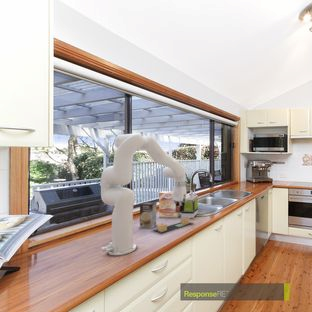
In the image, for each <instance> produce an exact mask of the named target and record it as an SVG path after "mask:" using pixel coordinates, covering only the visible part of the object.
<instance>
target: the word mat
mask: <svg viewBox="0 0 312 312" xmlns="http://www.w3.org/2000/svg"><path fill="white" fill-rule="evenodd" d="M192 225H194V223H193V222H190V218H187V217H184V218H181V217H180V222H178V223H174V224H171V225H168V224H167V223H164V222H162V223H158V224H157V229H153V230H152V232H154V233H157V234H160V235H164V234H167V233H170V232H173V231H176V230H179V229H183V228H186V227H189V226H192Z"/></svg>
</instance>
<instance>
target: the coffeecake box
mask: <svg viewBox="0 0 312 312" xmlns="http://www.w3.org/2000/svg"><path fill="white" fill-rule="evenodd" d="M158 201H159V202H158V218H179V217H181V213H178V212H176V205H175V202H174V200H173V190H172V191H171V190H170V191H167V190H165V191H160V192H159V193H158ZM179 204H180V202H179ZM180 205H181V204H180Z"/></svg>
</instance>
